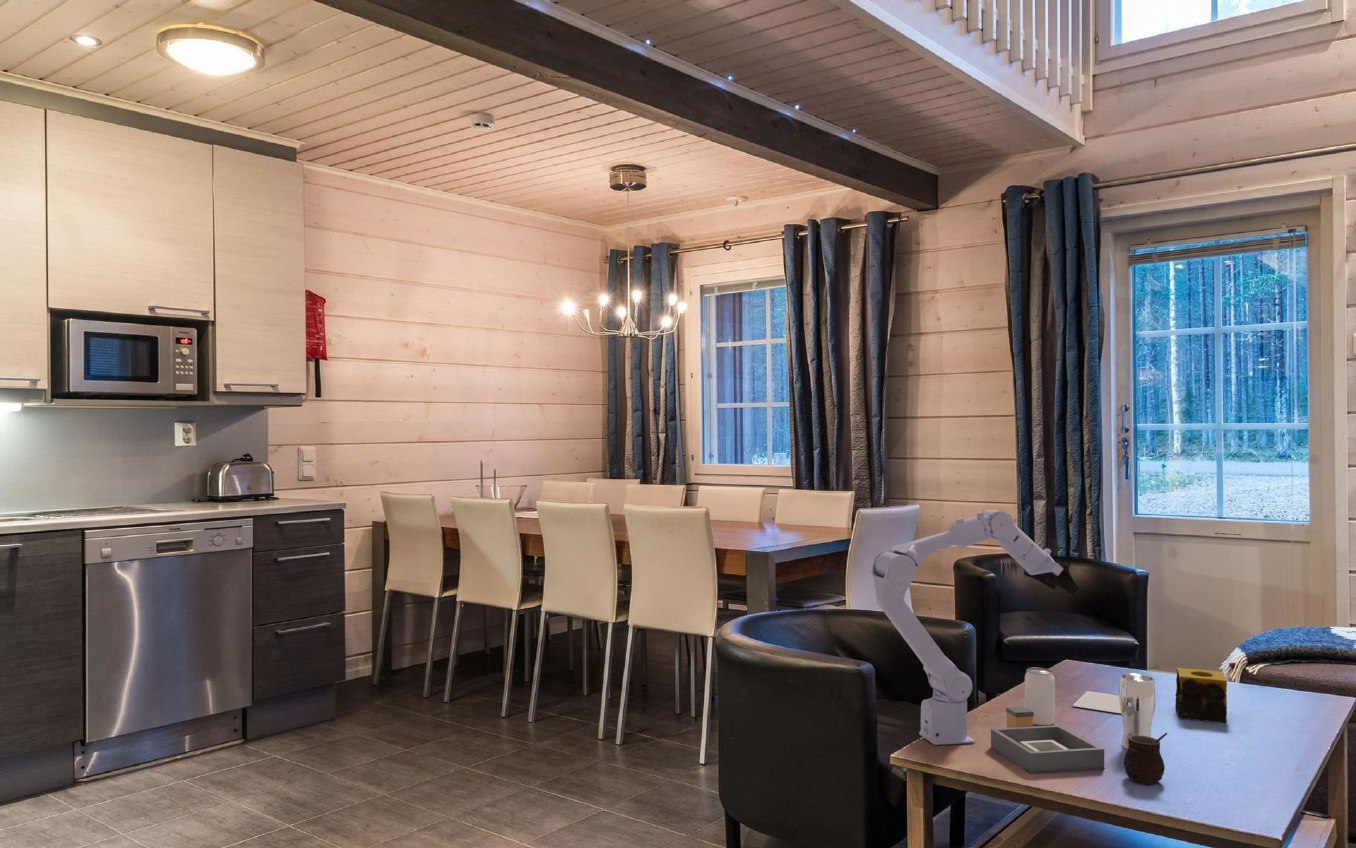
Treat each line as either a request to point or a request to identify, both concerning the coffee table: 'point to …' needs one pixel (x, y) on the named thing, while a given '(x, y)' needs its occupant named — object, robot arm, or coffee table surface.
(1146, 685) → the beer glass
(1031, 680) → the can
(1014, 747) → the box
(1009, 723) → the plug
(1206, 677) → the candle
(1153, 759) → the mate gourd
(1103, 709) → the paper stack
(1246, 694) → the coffee table surface
